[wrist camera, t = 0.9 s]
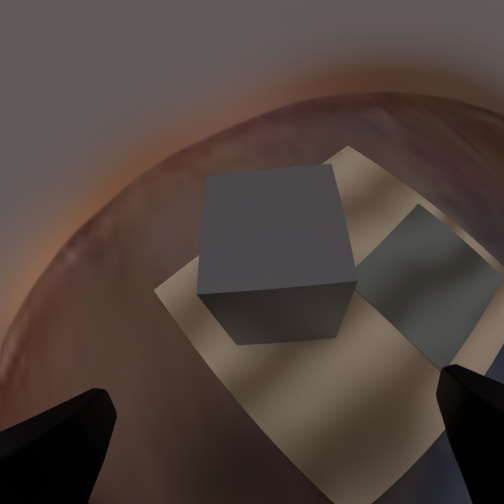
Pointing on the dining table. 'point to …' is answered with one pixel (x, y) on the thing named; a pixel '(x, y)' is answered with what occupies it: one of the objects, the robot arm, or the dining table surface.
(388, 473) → the birch board
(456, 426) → the robot arm
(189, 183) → the dining table surface
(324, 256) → the charcoal cover
